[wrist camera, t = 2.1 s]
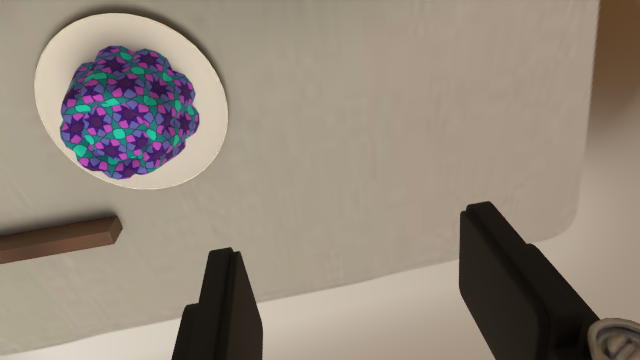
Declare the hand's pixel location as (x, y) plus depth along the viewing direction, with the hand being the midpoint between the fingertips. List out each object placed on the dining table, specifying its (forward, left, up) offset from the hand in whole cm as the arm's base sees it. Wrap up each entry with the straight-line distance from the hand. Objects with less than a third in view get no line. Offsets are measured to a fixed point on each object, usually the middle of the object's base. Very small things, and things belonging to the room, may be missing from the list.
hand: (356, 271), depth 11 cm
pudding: (-12, 0, -20) cm, 23 cm away
